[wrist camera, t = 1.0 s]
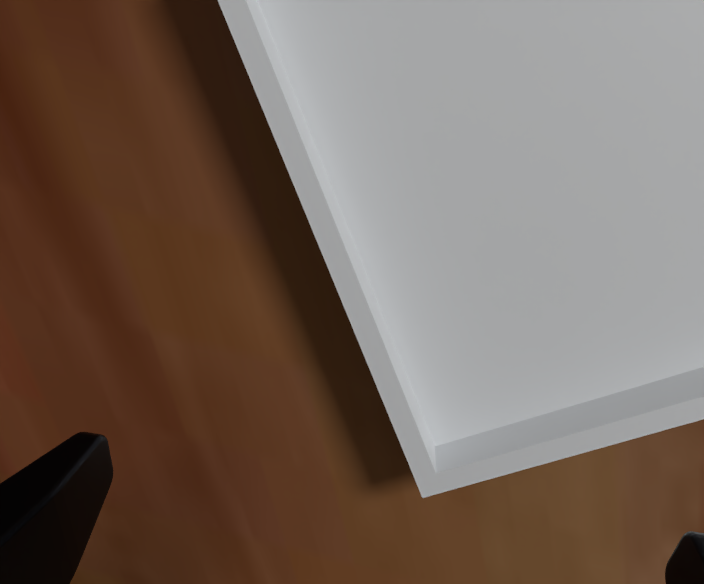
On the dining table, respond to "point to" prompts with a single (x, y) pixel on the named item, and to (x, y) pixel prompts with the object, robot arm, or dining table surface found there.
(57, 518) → the robot arm
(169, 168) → the dining table surface
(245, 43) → the tray
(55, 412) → the dining table surface
